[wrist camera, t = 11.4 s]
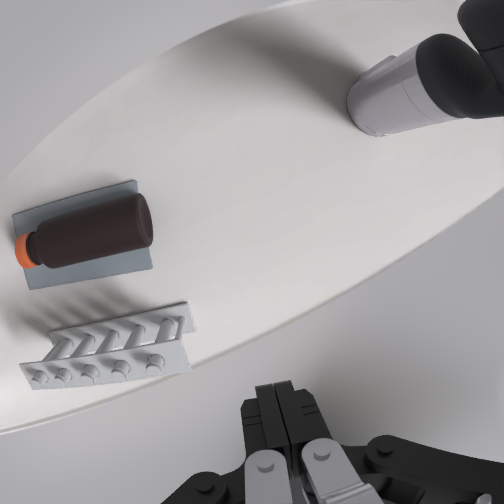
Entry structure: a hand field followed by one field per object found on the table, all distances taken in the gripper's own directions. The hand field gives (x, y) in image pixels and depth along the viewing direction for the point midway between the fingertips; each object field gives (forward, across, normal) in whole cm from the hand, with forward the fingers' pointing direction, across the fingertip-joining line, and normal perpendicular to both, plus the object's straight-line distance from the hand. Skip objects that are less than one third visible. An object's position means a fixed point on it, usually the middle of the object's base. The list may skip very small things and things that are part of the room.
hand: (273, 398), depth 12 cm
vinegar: (+26, +10, -6) cm, 29 cm away
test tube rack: (+30, +20, +10) cm, 37 cm away
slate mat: (+29, +23, -5) cm, 37 cm away
